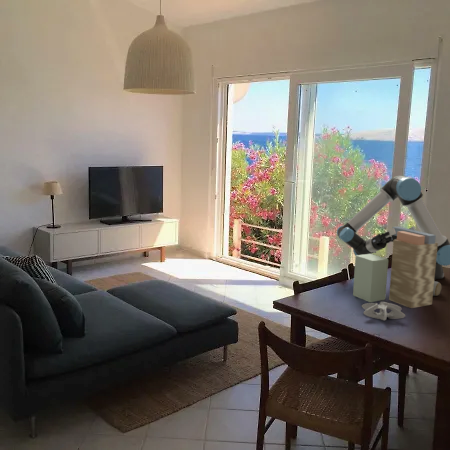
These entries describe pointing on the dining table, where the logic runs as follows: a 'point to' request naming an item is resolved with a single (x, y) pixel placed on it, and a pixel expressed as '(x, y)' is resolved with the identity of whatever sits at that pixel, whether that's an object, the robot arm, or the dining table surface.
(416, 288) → the birch stand
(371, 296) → the pale green pillar
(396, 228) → the slate bar
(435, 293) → the ceramic mug
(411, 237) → the terracotta bar
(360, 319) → the dining table surface
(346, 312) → the dining table surface
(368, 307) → the sculpture
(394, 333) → the dining table surface
